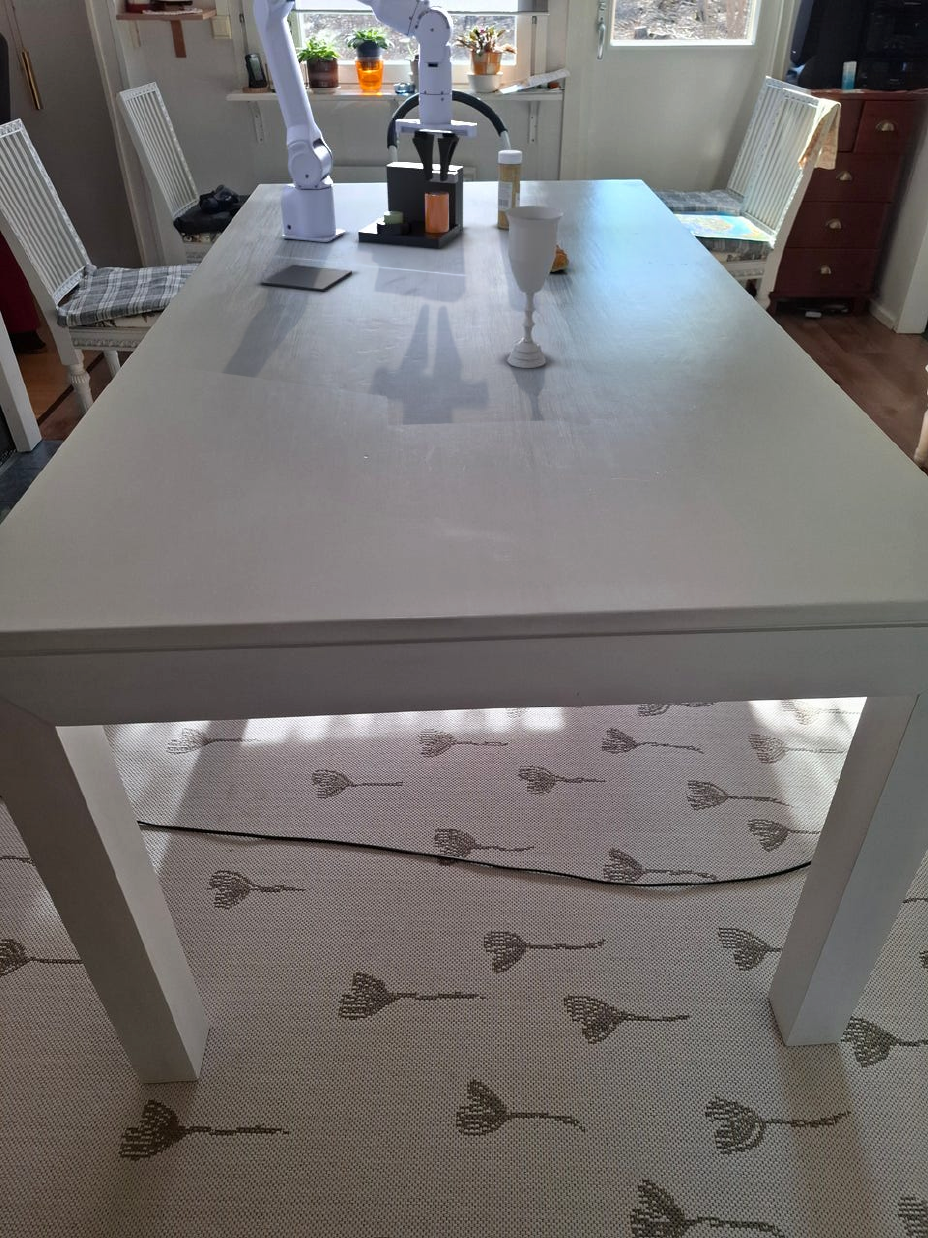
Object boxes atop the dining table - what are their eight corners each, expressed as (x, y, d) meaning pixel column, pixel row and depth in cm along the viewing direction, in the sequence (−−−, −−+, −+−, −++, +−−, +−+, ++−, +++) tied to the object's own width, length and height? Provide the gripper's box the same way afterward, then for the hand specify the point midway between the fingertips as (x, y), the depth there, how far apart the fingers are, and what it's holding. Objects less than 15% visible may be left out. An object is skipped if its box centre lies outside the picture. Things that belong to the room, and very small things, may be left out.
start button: (381, 224, 161) (380, 214, 160) (388, 220, 163) (388, 210, 162) (399, 226, 160) (398, 215, 159) (406, 221, 162) (405, 211, 161)
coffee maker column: (385, 229, 170) (382, 167, 164) (397, 222, 175) (395, 161, 169) (454, 236, 167) (454, 172, 160) (465, 228, 172) (465, 166, 165)
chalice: (497, 351, 117) (501, 206, 106) (547, 350, 117) (556, 205, 106) (504, 371, 111) (509, 220, 100) (556, 370, 111) (567, 219, 100)
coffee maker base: (358, 242, 162) (356, 222, 160) (383, 227, 172) (382, 208, 170) (438, 249, 158) (438, 229, 156) (460, 234, 168) (460, 214, 166)
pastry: (578, 270, 148) (580, 247, 146) (546, 276, 145) (547, 252, 143) (546, 257, 154) (547, 235, 152) (514, 263, 152) (515, 240, 149)
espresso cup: (422, 231, 162) (421, 193, 158) (430, 226, 165) (429, 189, 161) (444, 233, 161) (443, 195, 157) (452, 228, 164) (451, 191, 160)
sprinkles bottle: (523, 227, 172) (527, 151, 164) (505, 230, 170) (507, 153, 162) (510, 223, 175) (513, 148, 167) (491, 225, 173) (493, 150, 165)
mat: (261, 284, 140) (261, 282, 140) (293, 267, 149) (293, 264, 149) (323, 291, 138) (322, 288, 137) (351, 273, 146) (351, 270, 146)
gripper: (387, 93, 148) (391, 180, 156) (468, 96, 145) (467, 186, 153) (402, 88, 154) (405, 173, 162) (480, 92, 150) (479, 179, 158)
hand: (436, 179), depth 158 cm, fingers closed
